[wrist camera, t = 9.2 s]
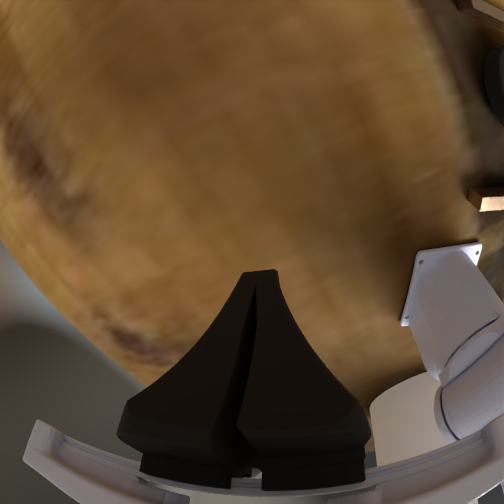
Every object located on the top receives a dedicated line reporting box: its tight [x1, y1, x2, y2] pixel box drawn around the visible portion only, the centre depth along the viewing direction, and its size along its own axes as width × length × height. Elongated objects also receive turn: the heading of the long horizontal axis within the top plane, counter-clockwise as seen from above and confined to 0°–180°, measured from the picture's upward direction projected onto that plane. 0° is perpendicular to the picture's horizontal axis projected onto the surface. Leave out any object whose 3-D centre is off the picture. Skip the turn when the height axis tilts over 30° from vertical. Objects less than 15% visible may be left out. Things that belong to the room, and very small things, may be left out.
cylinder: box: [369, 372, 478, 504], centre depth 25 cm, size 17×17×28 cm
